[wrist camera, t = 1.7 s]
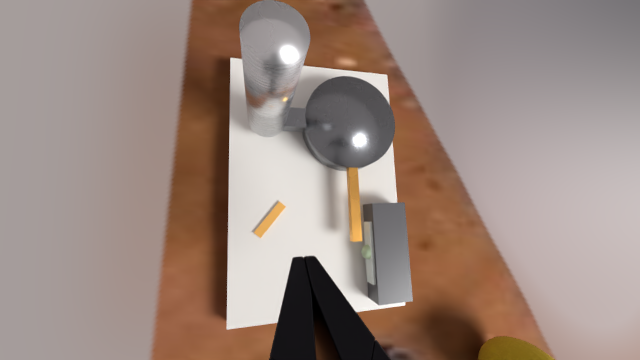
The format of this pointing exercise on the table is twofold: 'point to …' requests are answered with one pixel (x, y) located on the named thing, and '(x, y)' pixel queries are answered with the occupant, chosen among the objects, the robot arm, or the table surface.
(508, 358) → the lemon
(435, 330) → the table surface
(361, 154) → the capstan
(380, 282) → the stand
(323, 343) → the robot arm
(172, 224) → the table surface
